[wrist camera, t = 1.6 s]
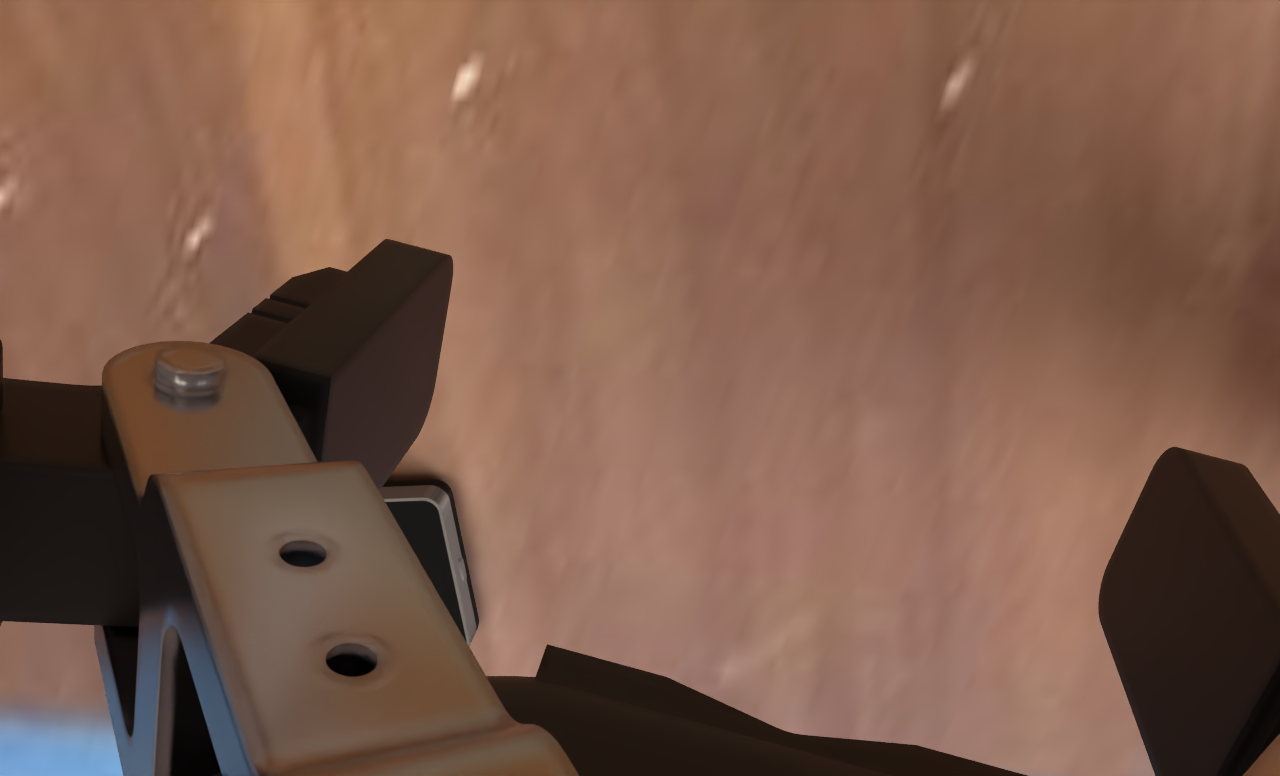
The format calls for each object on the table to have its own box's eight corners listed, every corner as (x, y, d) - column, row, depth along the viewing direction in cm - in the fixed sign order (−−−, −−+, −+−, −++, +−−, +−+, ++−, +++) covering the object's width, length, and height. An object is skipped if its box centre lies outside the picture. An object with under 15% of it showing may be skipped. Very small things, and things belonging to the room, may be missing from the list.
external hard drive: (191, 482, 47) (165, 507, 46) (457, 471, 45) (442, 496, 44) (235, 628, 50) (213, 657, 48) (489, 623, 48) (476, 653, 46)
